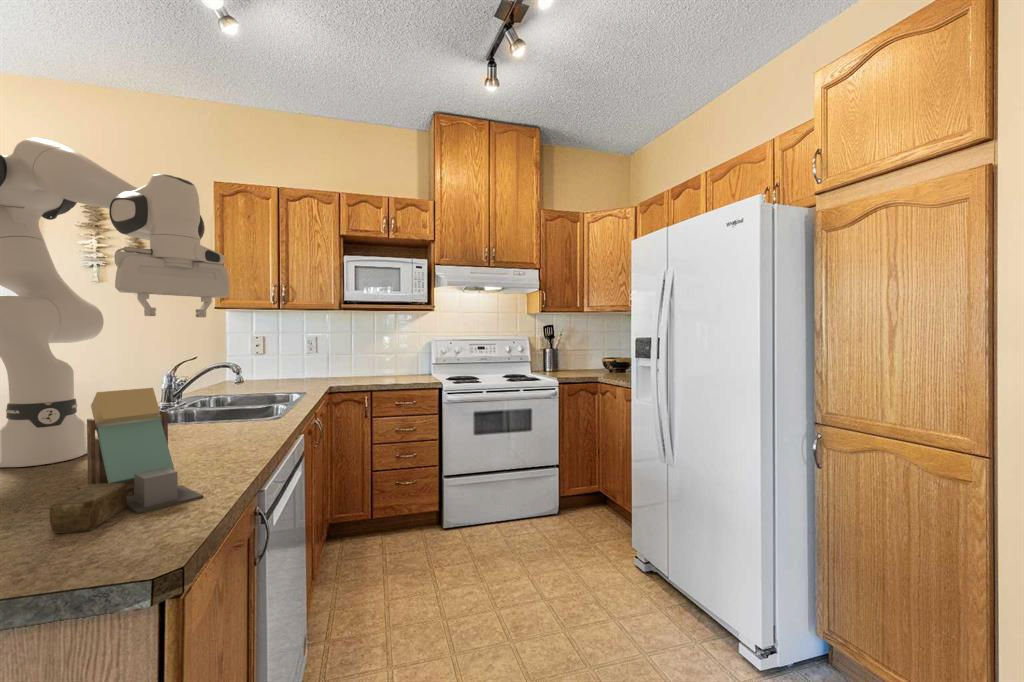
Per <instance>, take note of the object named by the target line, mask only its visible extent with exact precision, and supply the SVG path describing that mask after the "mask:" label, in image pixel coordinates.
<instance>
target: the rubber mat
mask: <svg viewBox="0 0 1024 682" xmlns="http://www.w3.org/2000/svg"><path fill="white" fill-rule="evenodd" d="M203 498H204V494H202V493H199V492H198V491H195V490H193V489H190V488H189V487H186V486H184V485H182V484H181V485H178V499H176V500H172V501H168V502H164V503H160V504H156V505H152V506H148V507H143V506H141V505H140V504H138V503H136V502H135V501H134V495H133V496H128V497H126V499H127V505H126V507H125V508H127V509H129V510H131V511H132V512H134V513H135V514H137V515H140V514H144V513H148V512H151V511H156V510H159V509H163V508H167V507H170V506H171V507H172V506H175V505H178V504H183V503H187V502H191V501H195V500H198V499H203Z"/></svg>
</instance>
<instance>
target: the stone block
mask: <svg viewBox="0 0 1024 682" xmlns="http://www.w3.org/2000/svg"><path fill="white" fill-rule="evenodd" d="M127 491H128V489H127V485H126V484H125V483H106V484H102V483H101V484H90V485H89V486H87V487H84V488H82V489H79V490H78V489H77V490H75V491H74V492H73V493H70V494H69V495H67V496H64V497H63V498H62V499H60V500H58V501H55V502H54V503H51V504H50V507H49V526H50V529H51V532H52V533H55V534H56V533H57V534H66V533H81V532H87V531H92V530H94V529H96V528H97V527H98V526H100V525H101V524H102V523H105V522H106V521H108V520H109V519H111V518H113V517H114V516H115V515H117V514H119V513H121V512H122V510H124V509H125V508H127V507H126V505H127V499H126V498H127V493H128V492H127Z"/></svg>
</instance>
